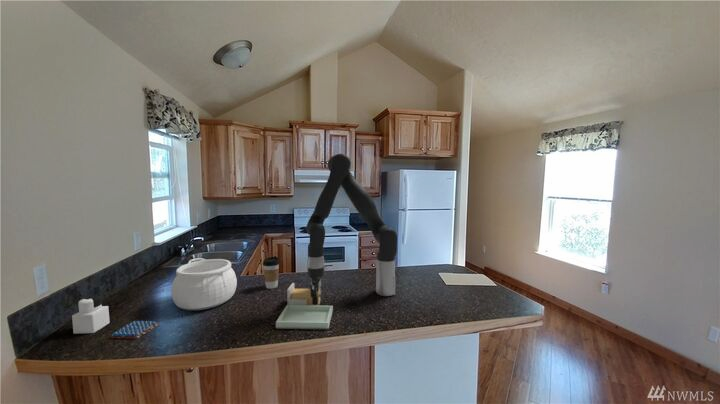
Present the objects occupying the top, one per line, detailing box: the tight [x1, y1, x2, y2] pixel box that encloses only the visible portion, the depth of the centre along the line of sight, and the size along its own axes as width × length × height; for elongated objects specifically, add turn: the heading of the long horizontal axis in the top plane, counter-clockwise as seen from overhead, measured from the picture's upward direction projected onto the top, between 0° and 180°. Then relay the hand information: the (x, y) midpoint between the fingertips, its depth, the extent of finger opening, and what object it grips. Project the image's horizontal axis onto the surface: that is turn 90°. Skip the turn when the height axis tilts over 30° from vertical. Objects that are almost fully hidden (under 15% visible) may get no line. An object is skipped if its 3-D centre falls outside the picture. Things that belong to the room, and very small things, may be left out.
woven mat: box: [110, 320, 159, 340], centre depth 100 cm, size 10×11×2 cm
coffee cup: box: [262, 256, 280, 290], centre depth 142 cm, size 8×8×15 cm
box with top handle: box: [292, 288, 323, 305], centre depth 122 cm, size 13×5×6 cm, turn 89°
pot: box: [170, 257, 238, 311], centre depth 125 cm, size 29×26×17 cm
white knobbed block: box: [71, 295, 110, 335], centre depth 101 cm, size 7×7×12 cm
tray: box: [275, 304, 334, 330], centre depth 108 cm, size 20×14×2 cm
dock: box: [286, 282, 307, 305], centre depth 122 cm, size 9×8×8 cm
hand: (316, 301), depth 122 cm, fingers closed on box with top handle, 5 cm apart
